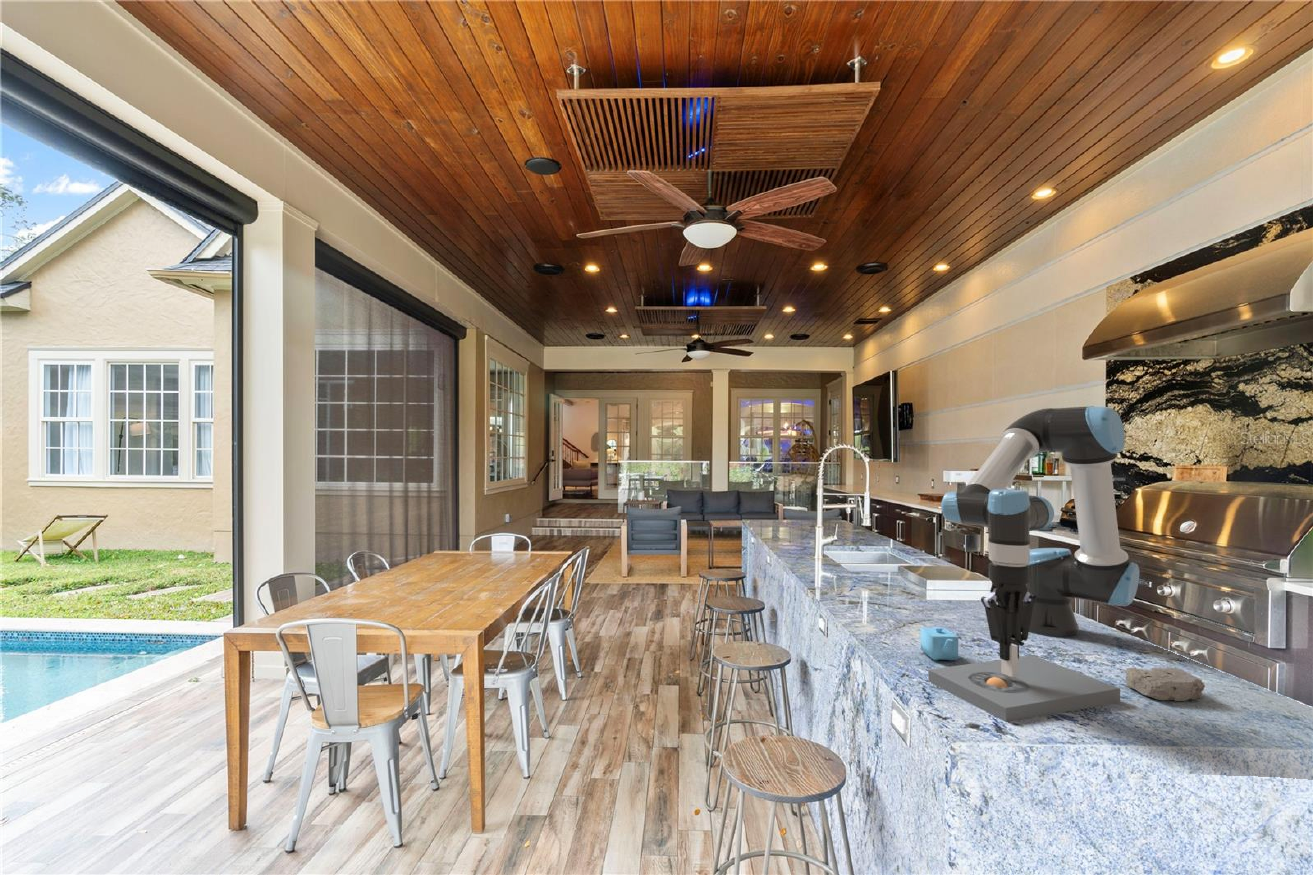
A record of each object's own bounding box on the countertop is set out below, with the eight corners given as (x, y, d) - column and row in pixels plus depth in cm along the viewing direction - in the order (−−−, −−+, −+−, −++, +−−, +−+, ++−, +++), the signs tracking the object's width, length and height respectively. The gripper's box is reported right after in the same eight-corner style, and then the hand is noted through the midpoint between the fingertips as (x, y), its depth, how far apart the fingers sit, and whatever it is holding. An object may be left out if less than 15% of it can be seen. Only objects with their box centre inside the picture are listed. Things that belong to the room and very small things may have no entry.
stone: (1114, 684, 131) (1160, 706, 121) (1117, 658, 131) (1164, 678, 121) (1164, 685, 133) (1213, 708, 123) (1167, 660, 133) (1217, 680, 123)
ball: (996, 673, 128) (981, 674, 127) (1012, 680, 124) (997, 682, 123) (995, 692, 128) (980, 694, 127) (1012, 700, 124) (996, 701, 123)
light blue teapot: (965, 668, 141) (964, 636, 141) (938, 668, 141) (938, 636, 142) (942, 651, 153) (942, 621, 153) (918, 650, 153) (918, 621, 154)
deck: (1032, 667, 142) (1032, 655, 142) (1120, 703, 123) (1120, 688, 123) (928, 683, 133) (928, 669, 133) (1005, 724, 114) (1005, 708, 114)
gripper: (1017, 557, 132) (1017, 664, 132) (970, 561, 129) (970, 671, 128) (1048, 564, 125) (1049, 677, 125) (999, 568, 121) (1000, 685, 121)
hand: (1009, 674), depth 127 cm, fingers closed
